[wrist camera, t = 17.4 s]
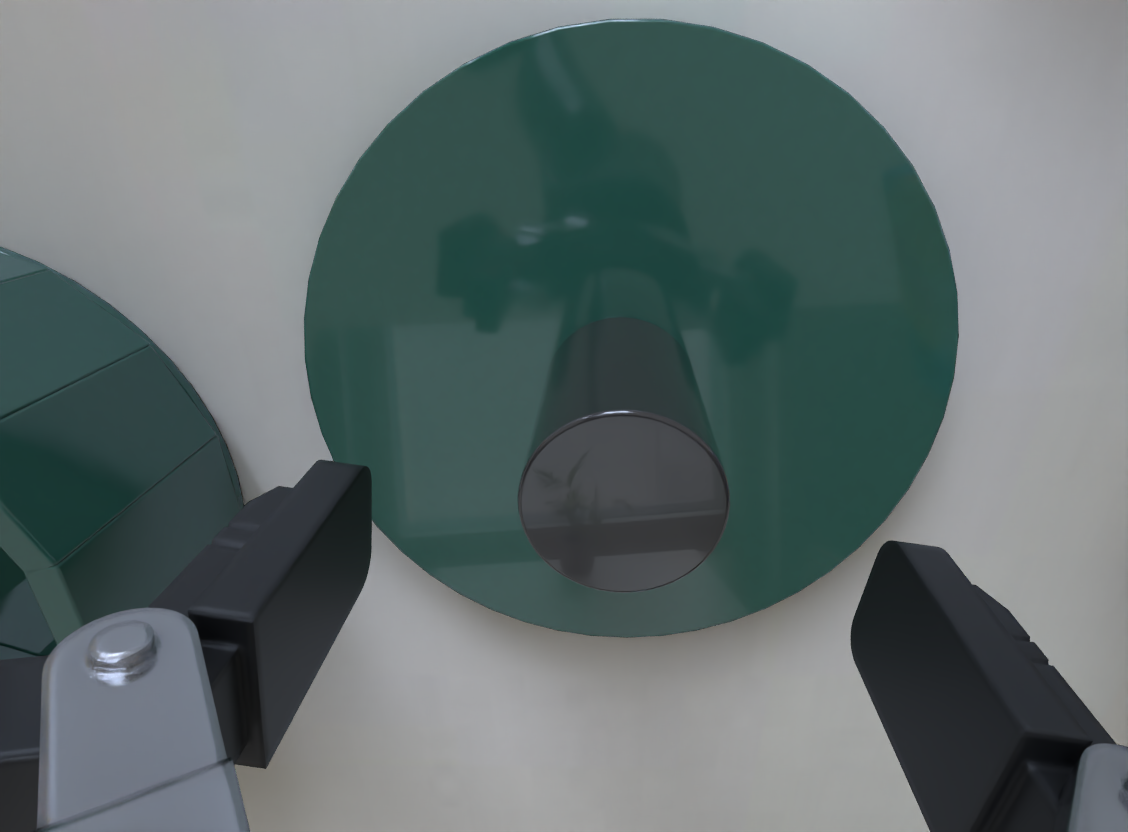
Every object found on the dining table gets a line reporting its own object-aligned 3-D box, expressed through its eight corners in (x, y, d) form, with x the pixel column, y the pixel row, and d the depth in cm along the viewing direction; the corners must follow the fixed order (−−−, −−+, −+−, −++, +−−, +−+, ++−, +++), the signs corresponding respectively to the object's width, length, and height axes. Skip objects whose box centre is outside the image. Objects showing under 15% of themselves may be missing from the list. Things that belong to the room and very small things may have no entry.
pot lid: (604, -167, 13) (598, -413, 7) (1070, 356, 17) (1337, 498, 10) (213, 384, 18) (15, 518, 12) (627, 690, 22) (633, 912, 16)
